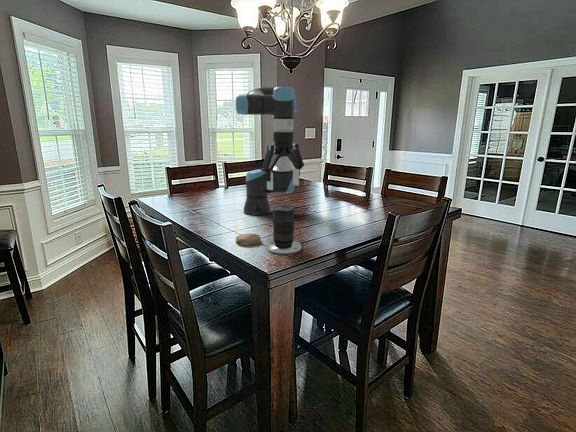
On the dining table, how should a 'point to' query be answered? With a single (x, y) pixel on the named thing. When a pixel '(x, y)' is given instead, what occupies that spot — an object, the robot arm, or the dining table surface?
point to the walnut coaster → (248, 239)
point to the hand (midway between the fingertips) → (283, 187)
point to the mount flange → (273, 249)
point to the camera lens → (283, 226)
